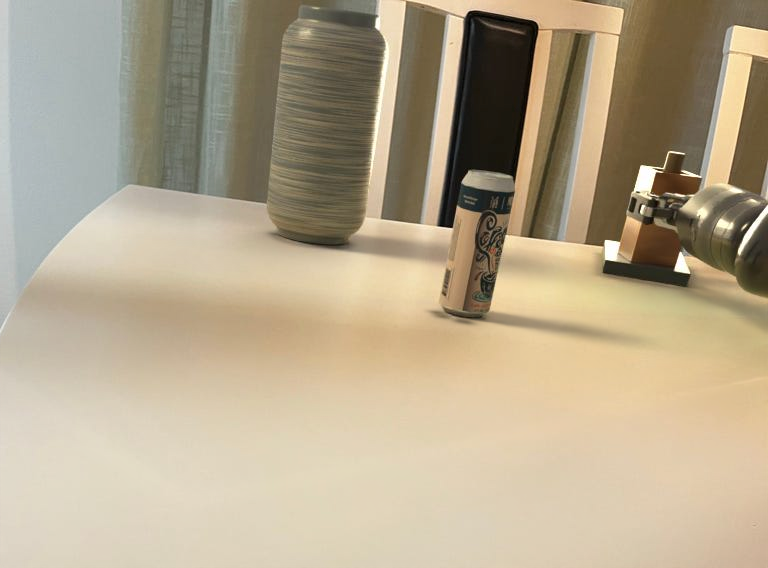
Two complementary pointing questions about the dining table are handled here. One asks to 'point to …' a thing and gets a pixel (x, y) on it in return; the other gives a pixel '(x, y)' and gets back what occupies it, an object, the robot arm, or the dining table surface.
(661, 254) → the sleeve
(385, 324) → the dining table surface
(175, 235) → the dining table surface
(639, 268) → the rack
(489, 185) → the drink can
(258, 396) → the dining table surface
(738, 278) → the robot arm
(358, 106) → the vase
